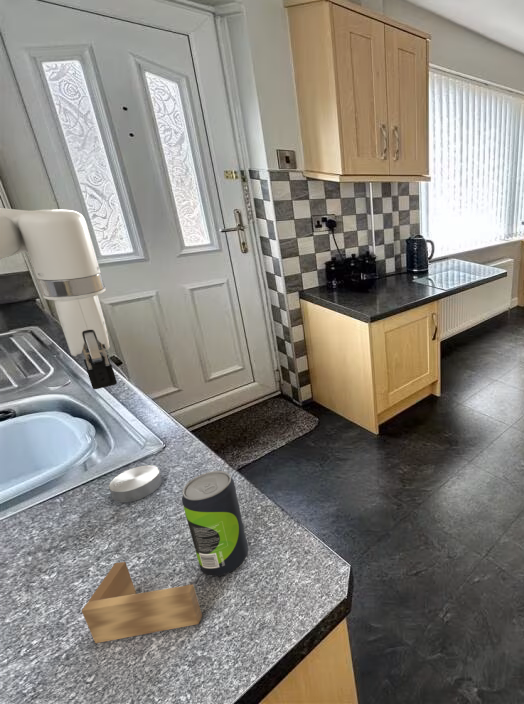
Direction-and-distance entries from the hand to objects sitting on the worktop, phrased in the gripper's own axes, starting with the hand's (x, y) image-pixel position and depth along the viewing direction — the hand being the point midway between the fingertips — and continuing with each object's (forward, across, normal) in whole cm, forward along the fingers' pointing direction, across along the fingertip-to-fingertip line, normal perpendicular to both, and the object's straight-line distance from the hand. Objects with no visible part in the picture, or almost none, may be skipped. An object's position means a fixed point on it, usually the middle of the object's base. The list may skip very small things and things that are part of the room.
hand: (103, 380), depth 77 cm
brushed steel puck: (+19, +8, 0) cm, 21 cm away
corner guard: (+19, +39, -2) cm, 43 cm away
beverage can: (+20, +37, +7) cm, 42 cm away
